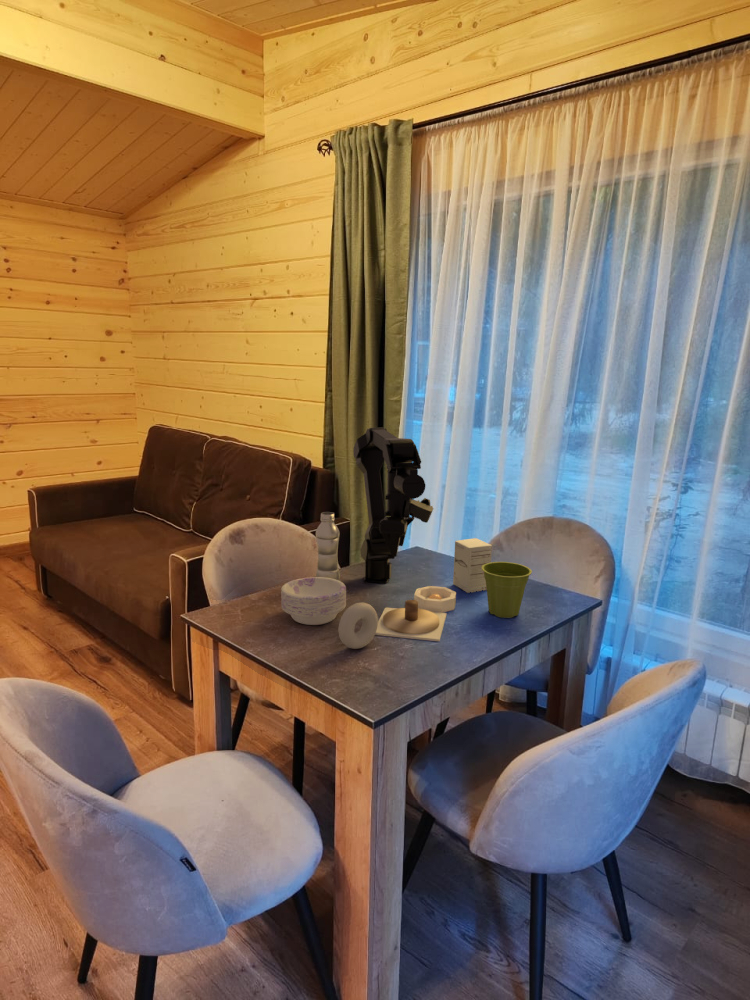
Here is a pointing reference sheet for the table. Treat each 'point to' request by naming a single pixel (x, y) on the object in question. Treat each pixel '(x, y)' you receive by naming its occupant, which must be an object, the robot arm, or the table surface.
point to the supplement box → (471, 564)
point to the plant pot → (505, 587)
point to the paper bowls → (313, 599)
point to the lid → (411, 619)
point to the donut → (351, 619)
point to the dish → (435, 599)
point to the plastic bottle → (327, 547)
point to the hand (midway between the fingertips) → (397, 551)
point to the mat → (430, 636)
